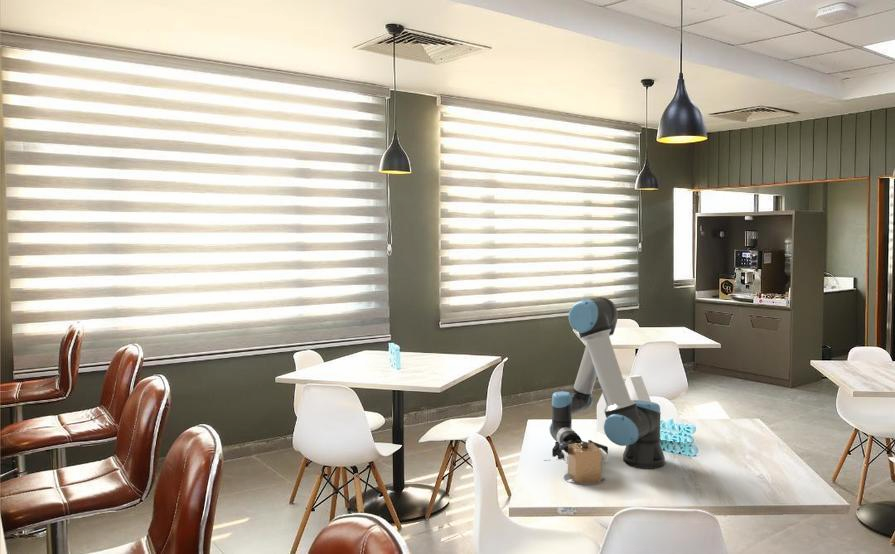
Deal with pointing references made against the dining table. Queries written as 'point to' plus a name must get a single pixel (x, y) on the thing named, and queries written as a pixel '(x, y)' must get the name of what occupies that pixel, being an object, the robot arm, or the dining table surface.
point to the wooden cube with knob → (584, 462)
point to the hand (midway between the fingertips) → (587, 458)
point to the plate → (583, 483)
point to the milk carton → (635, 392)
